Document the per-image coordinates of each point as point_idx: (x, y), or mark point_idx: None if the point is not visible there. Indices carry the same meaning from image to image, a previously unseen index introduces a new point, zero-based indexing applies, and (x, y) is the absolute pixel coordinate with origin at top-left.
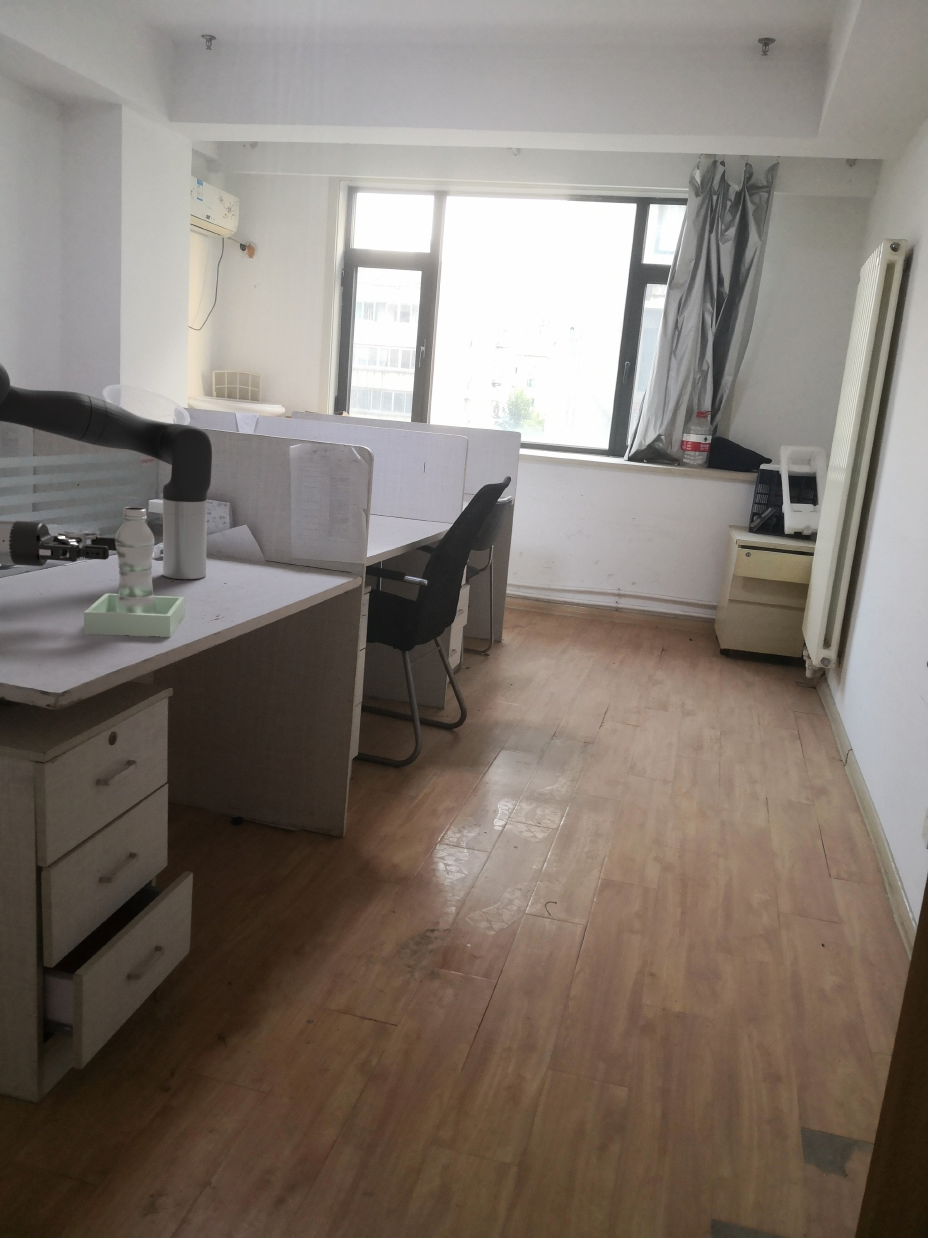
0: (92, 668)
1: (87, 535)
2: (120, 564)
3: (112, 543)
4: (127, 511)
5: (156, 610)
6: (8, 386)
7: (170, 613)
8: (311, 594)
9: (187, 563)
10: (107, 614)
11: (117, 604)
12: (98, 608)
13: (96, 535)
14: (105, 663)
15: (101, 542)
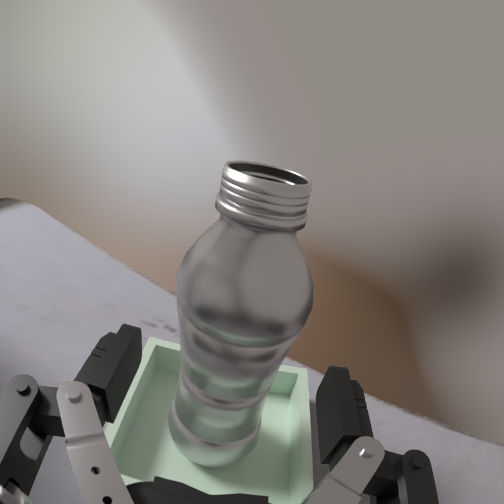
0: (463, 457)
1: (26, 420)
2: (264, 383)
3: (130, 360)
4: (308, 194)
5: (142, 397)
6: None
7: (289, 368)
8: (70, 231)
9: None
10: (311, 471)
11: (235, 456)
12: None
13: (77, 388)
14: (442, 451)
15: (113, 393)
